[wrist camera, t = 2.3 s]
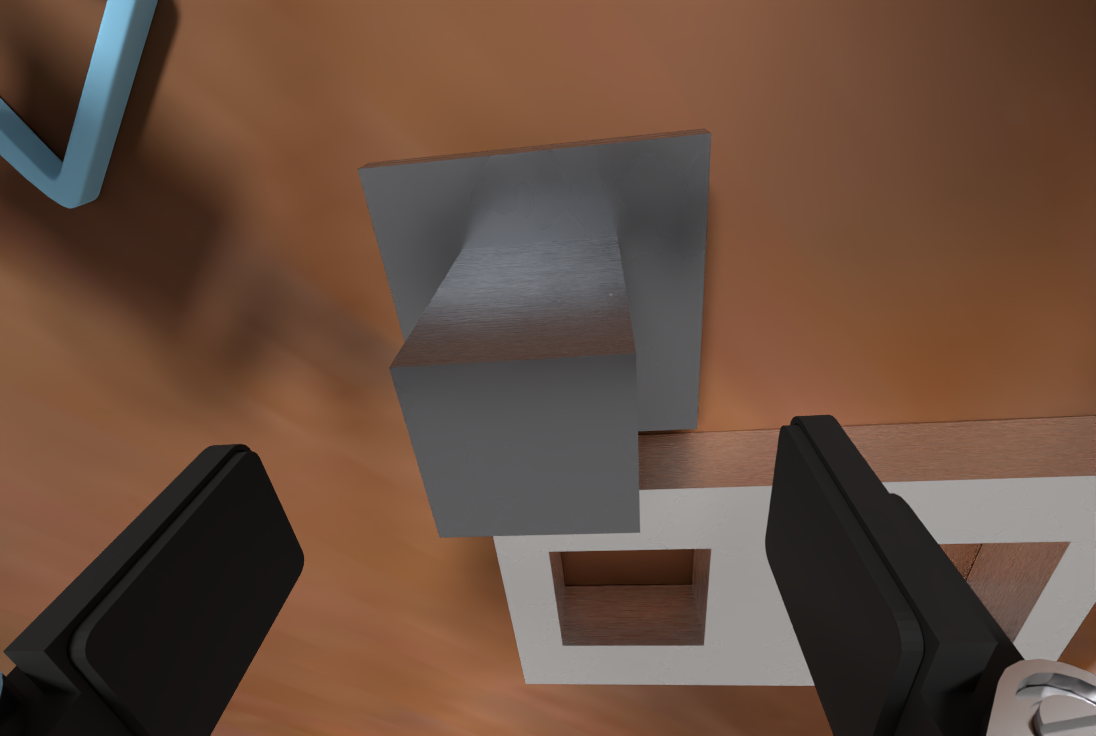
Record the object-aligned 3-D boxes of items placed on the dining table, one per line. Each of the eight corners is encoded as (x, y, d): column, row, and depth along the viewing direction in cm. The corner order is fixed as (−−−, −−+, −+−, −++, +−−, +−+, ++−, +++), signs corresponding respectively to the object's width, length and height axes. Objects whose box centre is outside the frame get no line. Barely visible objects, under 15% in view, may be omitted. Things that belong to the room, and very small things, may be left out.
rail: (496, 441, 21) (483, 494, 19) (1100, 415, 19) (1180, 473, 16) (531, 624, 27) (525, 683, 25) (993, 622, 25) (1039, 687, 23)
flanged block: (399, 146, 16) (207, 247, 8) (687, 116, 15) (803, 196, 7) (453, 383, 20) (365, 607, 12) (680, 371, 19) (747, 603, 11)
